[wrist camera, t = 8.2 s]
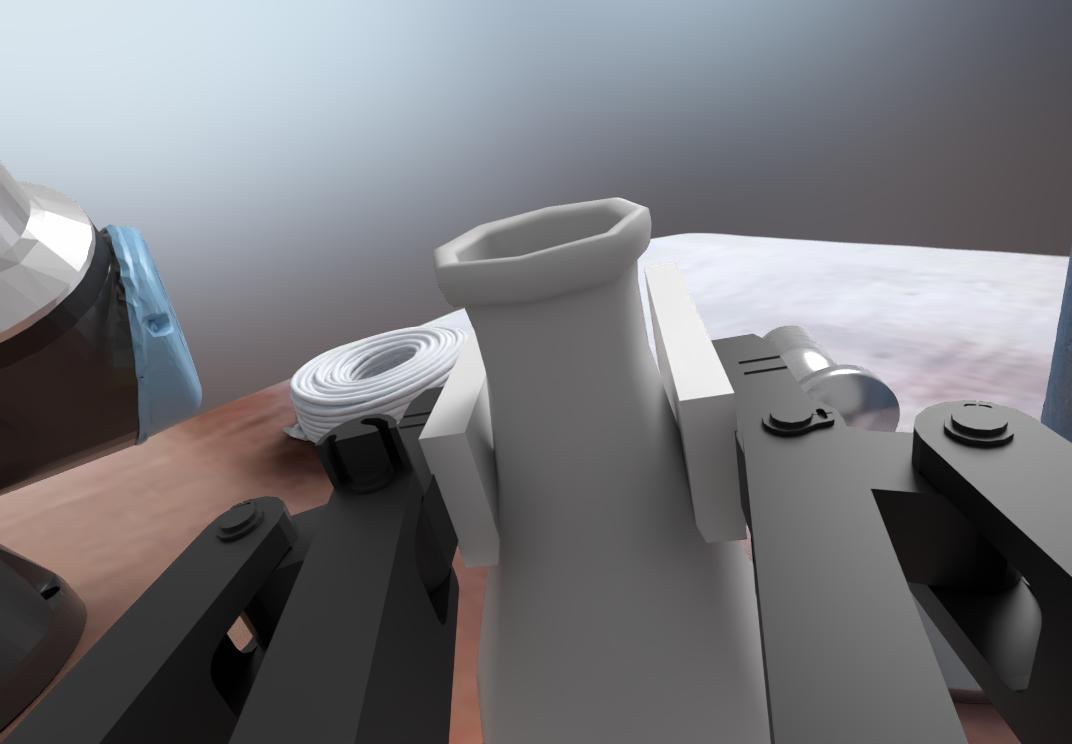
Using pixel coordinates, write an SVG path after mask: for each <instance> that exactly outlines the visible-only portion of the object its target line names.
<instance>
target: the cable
mask: <svg viewBox="0 0 1072 744" xmlns="http://www.w3.org/2000/svg"><path fill="white" fill-rule="evenodd" d="M467 339H468V335H467V334H466V333H465V332H464V331H462V330H460V329H458V328H453V327H445V326H420V327H411V328H405V329H400V330H395V331H391V332H387V333H383V334H379V335H376V336H372V337H369V338H366V339H362V340H359V341H356V342H353V343H350V344H346V345H343V346H340V347H337V348H334V349H332V350H330V351H327V352H325V353H323V354H321V355H319V356H317V357H316V358H314V359H312V360H311V361H309V362H308V363H307V364H305V365H304V366H303V367H302V368H300V369H299V370H298V371H297V372H296V373H295V375H294V376H293V378H292V380H291V382H290V387H291V393H290V398H291V401H292V403H293V404H294V407H295V410H296V412H297V414H296V419H298V422H299V423H297V424H295V426H294V427H284V428H283V432H286V433H288V434H289V435H290V436H292V437H294V438H299V439H301V440H305V441H308V440H310V441H313V442H314V443H317V442H318V441H319V440H320V438H321V437H322V436H323V435H325V434H326V433H328V432H329V431H330V430H332V429H333V428H335V427H337V426H339V425H341V424H343V423H345V422H346V421H349V420H352V419H355V418H358V417H361V416H364V415H371V414H387V415H390V416H392V417H393V418H395V419H396V421H397V424H399V422H400V420H401V419H403V415H404V413H405V411H406V410H407V408H408V406H409V404H410V402H412V401H413V400H414V399H415V398H416V397H417V396H419V395H420V394H421V393H422V392H423V391H425V390H426V389H430V388H436V387H442V386H445V384H446V382H447V380H448V378H449V376H450V374H451V372H452V370H453V367H454V365H455V363H456V361H457V359H458V357H459V355H460V353H461V351H462V349H463V347H464V345H465V343H466V341H467Z"/></svg>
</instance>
